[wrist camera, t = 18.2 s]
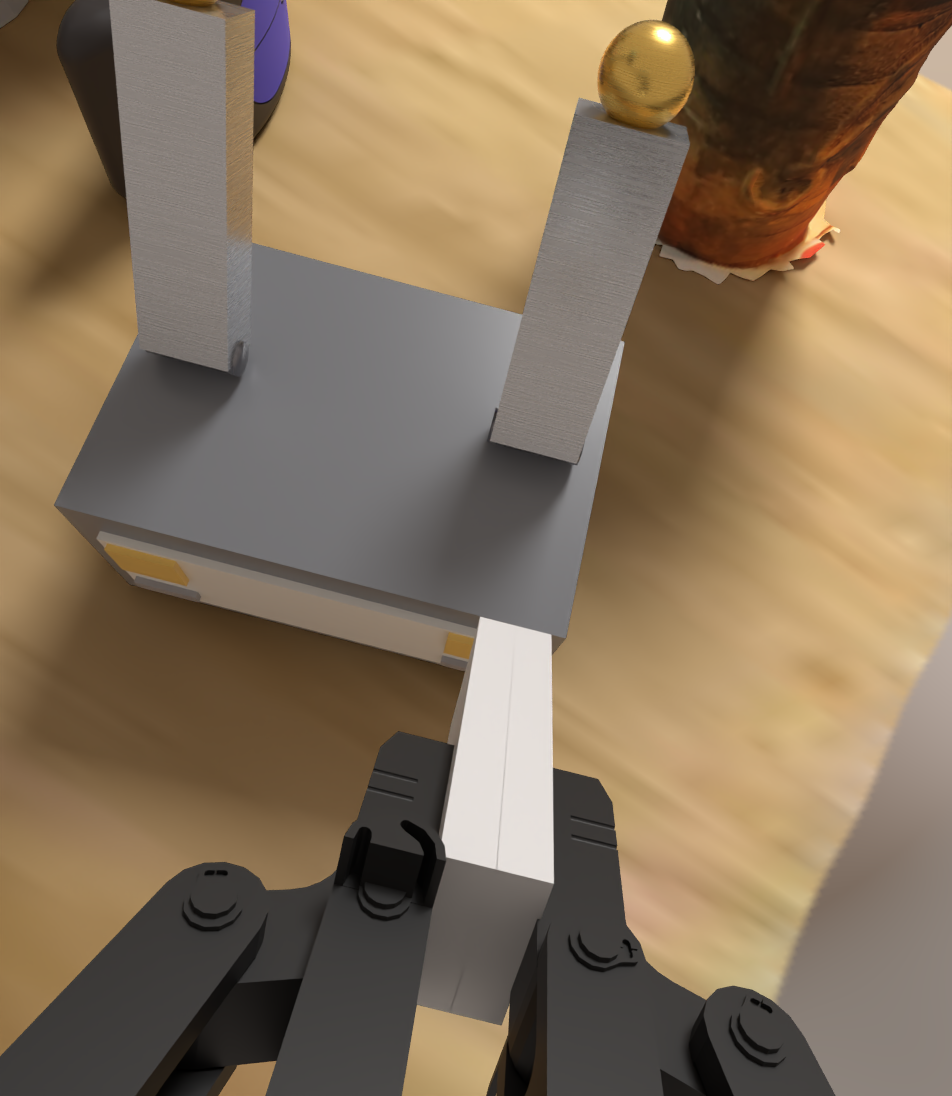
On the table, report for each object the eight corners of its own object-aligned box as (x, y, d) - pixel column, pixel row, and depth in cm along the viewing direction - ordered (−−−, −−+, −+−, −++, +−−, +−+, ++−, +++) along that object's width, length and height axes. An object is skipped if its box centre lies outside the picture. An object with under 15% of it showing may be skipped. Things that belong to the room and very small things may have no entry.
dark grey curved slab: (194, 239, 39) (139, 63, 31) (110, 206, 39) (32, 22, 31) (333, 40, 45) (320, -154, 37) (260, 13, 46) (231, -187, 37)
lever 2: (482, 457, 26) (596, 9, 18) (492, 421, 28) (600, -1, 20) (574, 482, 26) (730, 46, 18) (578, 444, 28) (722, 32, 20)
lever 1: (135, 366, 26) (88, -128, 18) (167, 335, 28) (139, -127, 20) (228, 391, 26) (225, -92, 18) (254, 359, 28) (263, -93, 20)
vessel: (743, 349, 40) (1035, -90, 22) (538, 190, 43) (644, -317, 25) (887, 210, 45) (1225, -247, 27) (694, 75, 48) (879, -421, 30)
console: (124, 596, 32) (46, 520, 25) (229, 351, 37) (190, 226, 30) (522, 699, 33) (562, 654, 25) (577, 443, 37) (624, 341, 30)
